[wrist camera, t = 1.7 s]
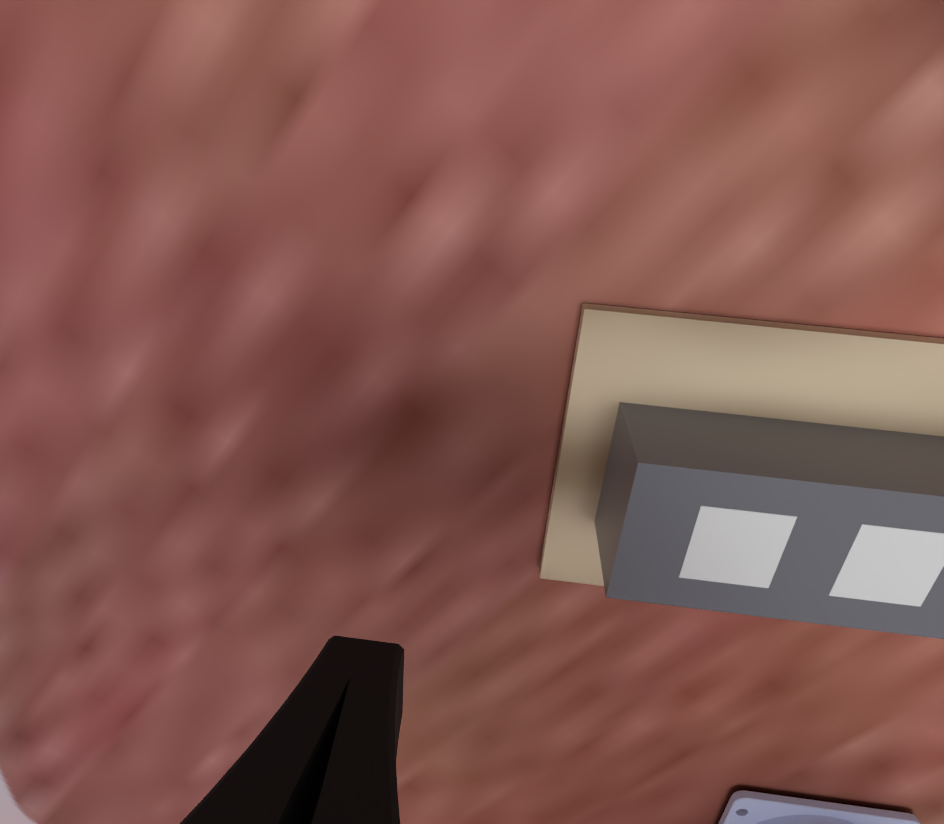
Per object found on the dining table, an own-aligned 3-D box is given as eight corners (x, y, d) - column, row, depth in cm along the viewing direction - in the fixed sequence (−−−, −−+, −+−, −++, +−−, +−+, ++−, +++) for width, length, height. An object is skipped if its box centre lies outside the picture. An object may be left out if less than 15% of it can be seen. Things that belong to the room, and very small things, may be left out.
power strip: (1027, 572, 19) (1125, 662, 16) (594, 521, 20) (606, 597, 16) (1105, 453, 17) (1236, 529, 14) (619, 402, 18) (638, 462, 14)
